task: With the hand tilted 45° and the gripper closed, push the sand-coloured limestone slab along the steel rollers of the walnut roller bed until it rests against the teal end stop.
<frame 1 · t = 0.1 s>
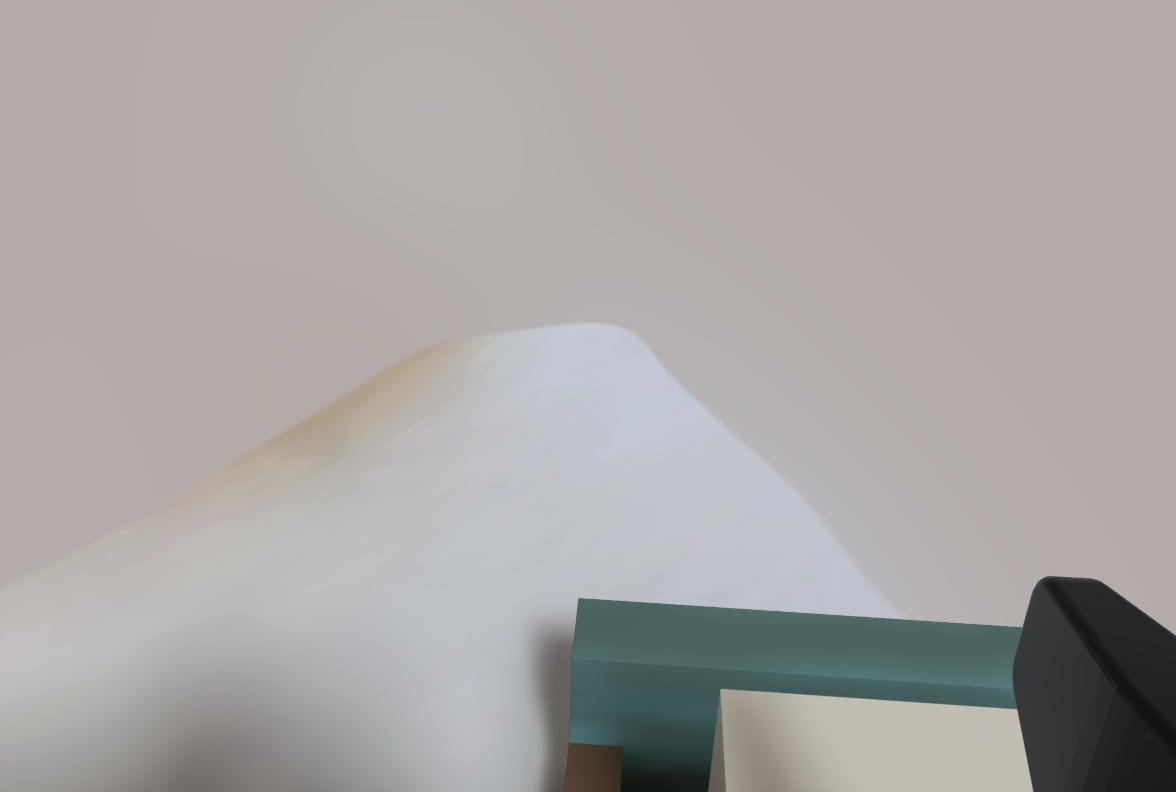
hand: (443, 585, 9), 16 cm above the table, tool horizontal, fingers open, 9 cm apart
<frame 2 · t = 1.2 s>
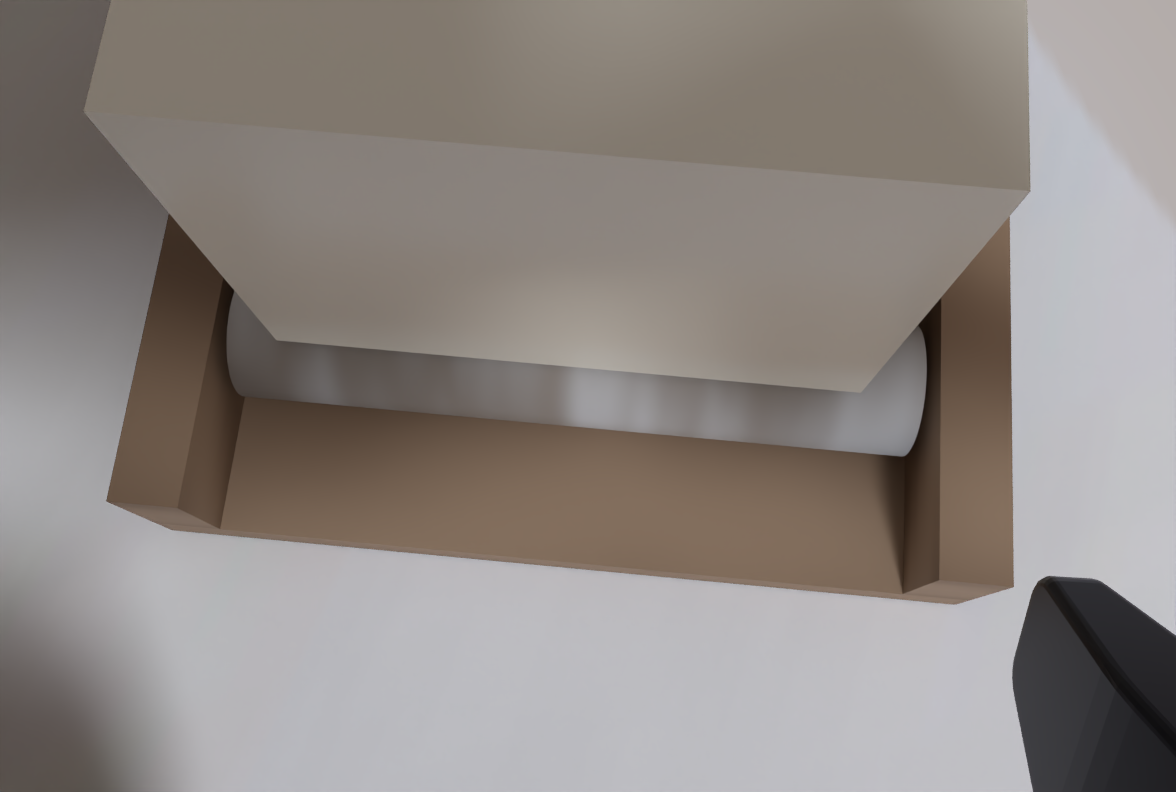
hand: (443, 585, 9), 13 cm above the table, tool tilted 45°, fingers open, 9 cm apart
roller bed: (604, 123, 24), on the table
limestone slab: (593, 106, 20), point 3 cm above the table, touching roller bed
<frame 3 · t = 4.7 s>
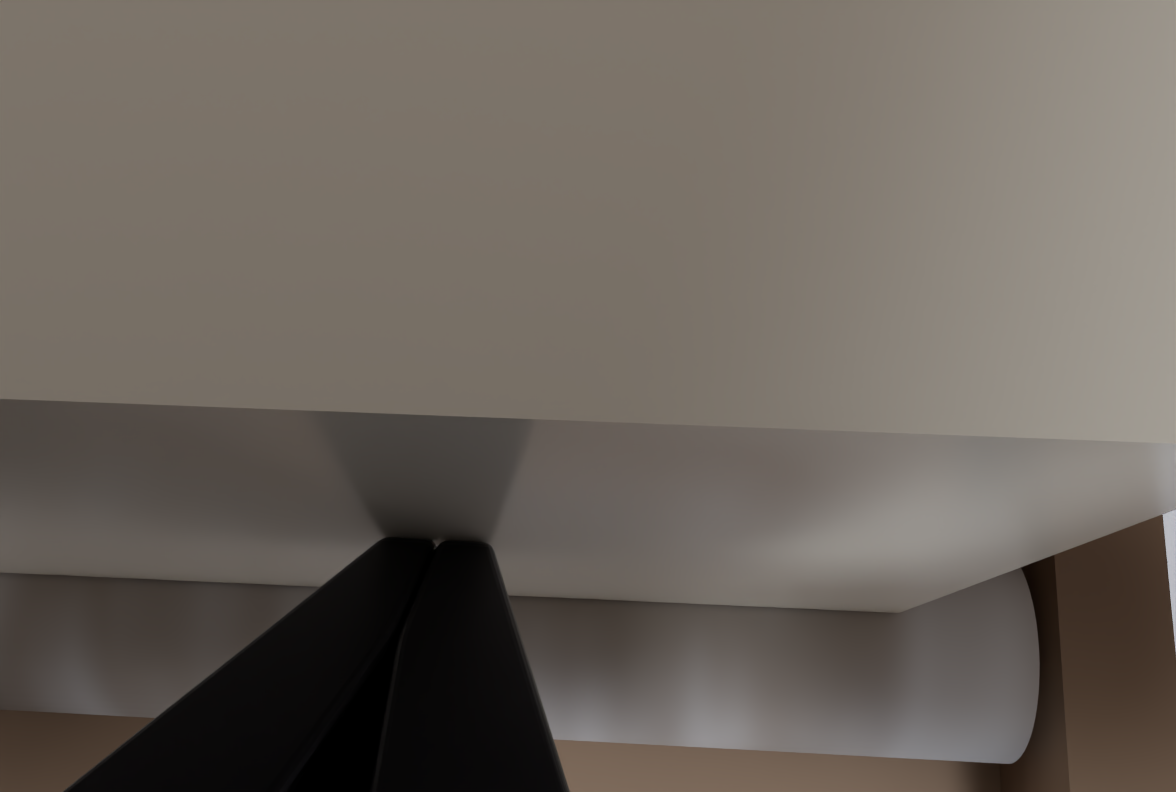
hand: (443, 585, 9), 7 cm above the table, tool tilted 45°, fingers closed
roller bed: (531, 232, 17), on the table
limestone slab: (467, 174, 13), point 3 cm above the table, touching roller bed
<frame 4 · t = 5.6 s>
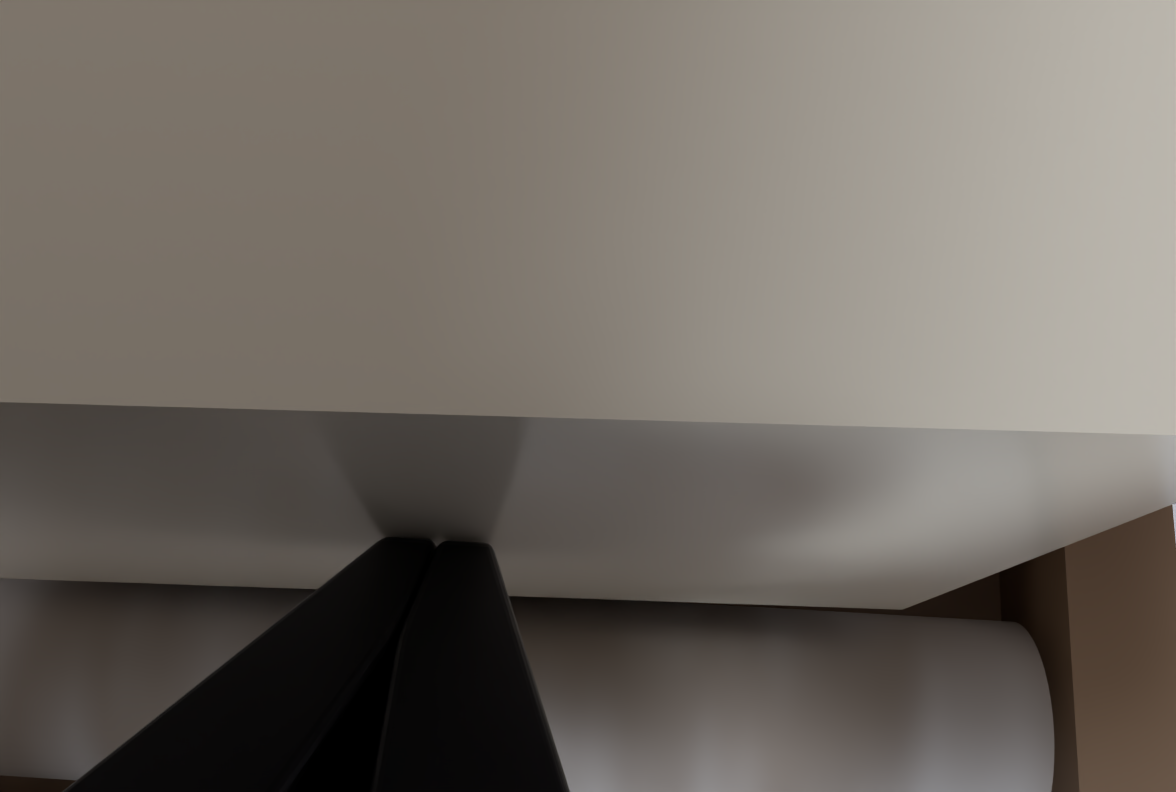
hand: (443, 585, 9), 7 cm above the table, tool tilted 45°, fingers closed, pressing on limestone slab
roller bed: (518, 550, 15), on the table
limestone slab: (468, 177, 13), point 3 cm above the table, touching gripper, roller bed
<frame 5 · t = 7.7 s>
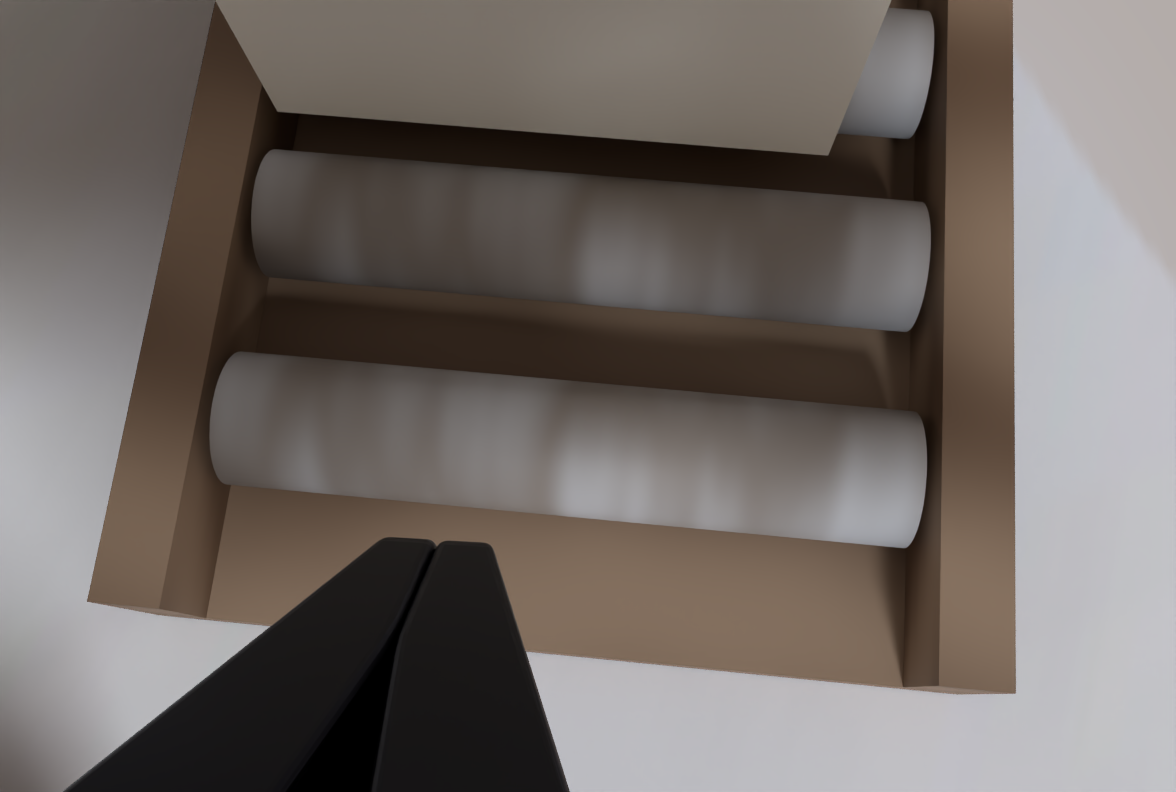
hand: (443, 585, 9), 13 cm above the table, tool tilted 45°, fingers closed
roller bed: (599, 190, 23), on the table
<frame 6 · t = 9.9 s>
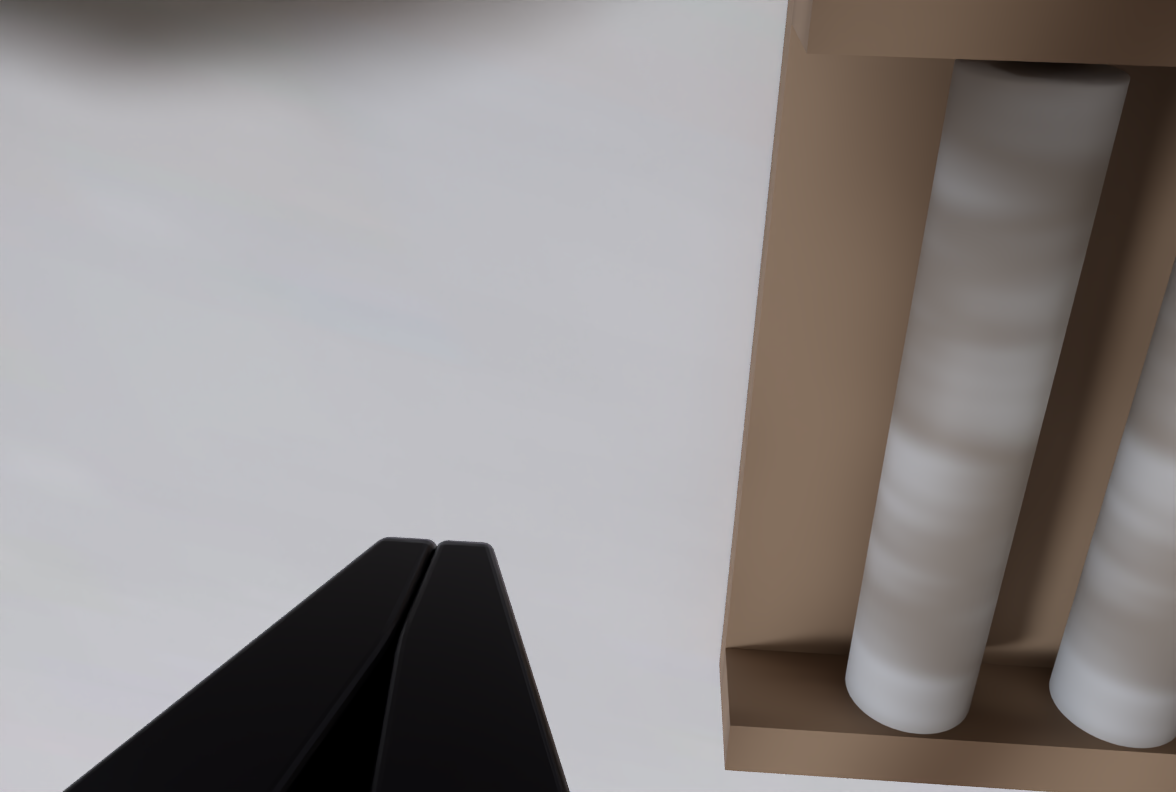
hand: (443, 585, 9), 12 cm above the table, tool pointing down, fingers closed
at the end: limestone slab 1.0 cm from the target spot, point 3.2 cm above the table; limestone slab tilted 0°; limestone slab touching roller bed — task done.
